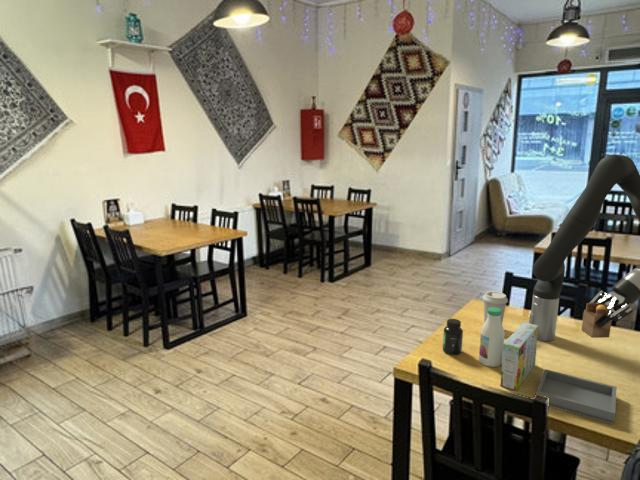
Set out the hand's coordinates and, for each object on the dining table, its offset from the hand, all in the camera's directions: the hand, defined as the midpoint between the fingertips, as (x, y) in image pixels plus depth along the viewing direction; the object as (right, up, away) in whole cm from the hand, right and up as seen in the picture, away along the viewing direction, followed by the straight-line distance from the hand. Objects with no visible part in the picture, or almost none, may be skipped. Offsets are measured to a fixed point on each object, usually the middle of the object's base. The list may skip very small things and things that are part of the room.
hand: (591, 321), depth 147 cm
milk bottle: (-27, -17, +15) cm, 35 cm away
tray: (-10, -22, -8) cm, 26 cm away
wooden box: (+2, -4, +1) cm, 5 cm away
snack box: (-21, -19, +7) cm, 29 cm away
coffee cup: (-16, -11, +42) cm, 46 cm away
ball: (+3, +4, -1) cm, 5 cm away
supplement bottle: (-38, -15, +23) cm, 47 cm away
